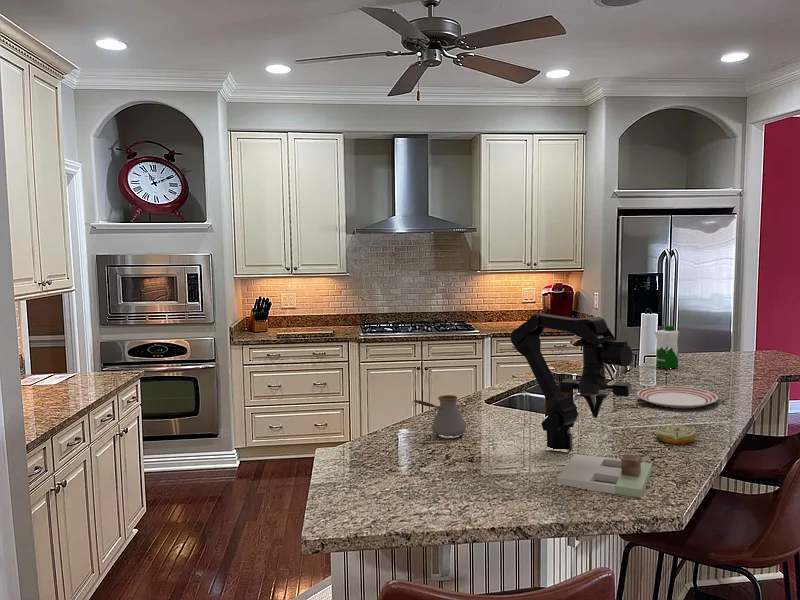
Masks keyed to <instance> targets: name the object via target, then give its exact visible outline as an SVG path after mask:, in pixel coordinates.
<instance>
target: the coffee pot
mask: <svg viewBox="0 0 800 600" xmlns="http://www.w3.org/2000/svg"><path fill="white" fill-rule="evenodd" d="M437 399H438V400H439V403H440V404H439V405H435V404H432V403H429V402H427V401H421V400H420V399H419V400H417V399H414V400H413V401H412V402H411V406H412V407H414V405H413V403H414V402H415V403H416V404H415V406H418V405H422V406H425V407H429V408H434V409H437V412H436V413H435V414H436V415H435V417H434V420H433V423H432V425H431V430H432V432H433V433H434V434H435V433H436V434H439V435H444V436H456V435H460V434H462V435H463V434H464V433H465V432H466V429H467V424H466V421H465V420H464V417H463V416H462V414H461V413H462V412H461V411H460V410H459V407H458V405H457V400H458V396H457V395H453V394H451V395H450V394H447V395H440V396H438V397H437ZM436 434H435V435H436Z"/></svg>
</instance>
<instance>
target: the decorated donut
mask: <svg viewBox="0 0 800 600" xmlns="http://www.w3.org/2000/svg"><path fill="white" fill-rule="evenodd" d="M655 435H656V436H657V437H658V439H659V440H660V441H662V442H664V443H666V444H672V445H673V444H675V445H683V444H688V443H692V442H693V441H694V440H695V438H696V431H695V430H694V429H693V428H691V427H690V426H685V425H680V424H673V423H672V424H665V425H663V426H659V428H658V429H656V431H655Z"/></svg>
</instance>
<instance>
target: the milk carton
mask: <svg viewBox="0 0 800 600" xmlns="http://www.w3.org/2000/svg"><path fill="white" fill-rule="evenodd" d="M656 331H657V332H656ZM679 333H680V330H676V329H675V325H665V326H664V329H660V330H658V329H657V330H655V331H654V335H655V339H656V364H655V365H656V366H658V367H662V368H666V369H670V368H676V367H679V354H678V353H679V352H678V351H679V348H678V347H679V346H678V344H679V343H678V340H679V335H680V334H679ZM666 369H665V370H666ZM676 369H677V368H676ZM670 370H671V369H670Z"/></svg>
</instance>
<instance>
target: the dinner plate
mask: <svg viewBox="0 0 800 600" xmlns="http://www.w3.org/2000/svg"><path fill="white" fill-rule="evenodd" d="M636 394H637V396H638V398H640V399H642V400H643V401H645V402H648V403H650V404H653V405H655V404H656V405H655V406H658V405H660V406H659V407H662V406H664V407H663V408H668V407H670V408H671V409H696V408H700V407H705V406H708V405H711V404H713V403H715V402H717V400H718V398H719V397H718V395H717V394H715V393H713V392H712V391H708V390H707V389H706V390H705V389H701V388H697V387H696V388H695V387H690V386H683V385H681V386H680V385H679V386H677V385H661V386H650V387H647V388H642V389H639V390H638V391H637V393H636ZM670 408H669V409H670Z"/></svg>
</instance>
